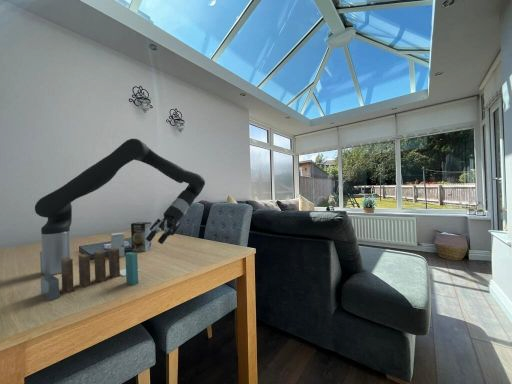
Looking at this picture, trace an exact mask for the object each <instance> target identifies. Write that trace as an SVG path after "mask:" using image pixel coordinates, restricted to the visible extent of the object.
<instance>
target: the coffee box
mask: <svg viewBox="0 0 512 384" xmlns="http://www.w3.org/2000/svg"><path fill="white" fill-rule="evenodd" d="M151 226H152V222H149V221H146V222H145V221H138V222H132V223H130V235H131V236H130V237H131V239H130V241H131V252H148V251H150V250H152V249H153V239H152V240H151V241H150V242H149V241H147V240H146V238H147V236H148V235H149V234H150V232H151V230H149V229H150V228H151ZM132 247H133V248H132Z"/></svg>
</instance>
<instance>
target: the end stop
mask: <svg viewBox="0 0 512 384" xmlns="http://www.w3.org/2000/svg"><path fill="white" fill-rule="evenodd" d="M40 294H41V296H43V297H44V298H45V299H46V300H48V301H53V300H57V299H59V298H60V279H59V278H58V277H56V276H54V274H53V275H51V274H49V275H42V276H40Z"/></svg>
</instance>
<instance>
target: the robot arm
mask: <svg viewBox="0 0 512 384" xmlns="http://www.w3.org/2000/svg"><path fill="white" fill-rule="evenodd" d="M132 161H138V162H140V163H143V164H146V165H148V166H150V167H153V168H154V169H155V170H157V171H159V172H160V173H161V174H163V175H164V176H166V177H167V178H169V179H171V180H173V181H174V182H176V183H179V184H183V183H185V184H187V186H186V187H185V189H184V190H182V191H181V192H180V193H179V195H178V196H177V197H176V198H175V199H174V200H173V201H172V202H171V204H169V206H168V207H167V209H166V210H165V212H163V218H162V219H160V218H157V220H156V221H155V222H153V224H151V228H150V229H149V230H151V232H150V234H149V235H148V236H147V238H146V240H147V241H149V242H150V241H151V240H152V241H153V239H154V238H155V236H156V235H157V234H158V233H161V232H163V231H164V232H163V233H162V234H161V236H160V237H159V238H158V239H157V242H158V244H161V245H163V244H164V242H165V241H166V240H167V239H168V238H169V237H170V236H174V235H175V233H176V231H178V229H179V227H180V226H181V223H180V222H181V220H182V219H183V218H184V216H185V214H187V212H188V211H189V209H190V207H191V206H192V204H193V203H194V201H195V200H196V198H198V197H199V195H200V194H201V193H202V191H203V189H204V187H205V185H206V181H205V178H204V177H203V176H202V175H200V174H198V173H196V172H194V171H193V172H192V171H189V170H186V169H184V168H183V167H181V166H179V165H178V164H176V163H174V162H172V161H170V160H168V159H166V158H164V157H162V156H160V155H159V154H158V153H156V152H155V151H153V150H152V149H150V148H149V146H148V145H147V144H146V143H144V142H143V141H141V140H140V139H138V138H130V139H127V140H125V141H124V142H122V144H121V145H119V146H118V147H117V148H116V149H115V150H113V151H112V152H111V153H110V154H108V155H107V156H104V157H103V158H102V159H101V160H100V159H99V161H97V162H96V163H95V164H92V165H91V166H90V167H88V168H86V169H85V170H83V171H82V172H81V173H79V174H78V175H76V176H75V177H73V178H72V179H71V180H69V181H68V182H67V183H66V184H63V186H61V187H59V188H57V189H56V190H54V191H52V192H50V193H48V194H46V195H45V196H43V197H41V198H39V199H38V201H37V202H36V203H35V206H34V212H35V214H36V215H38V216H39V217H41V218H47V221H46V223H45V224H44V225H43V226H41V229H40V230H41V231H40V232H41V234H40V235H41V251H39V261H40V262H39V263H40V274H41V275H42V276H45V275H49V274H51V275H53V276H54V275H58V274H62V271H61V259H62V258H67V257H68V258H70V259H72V258H71V256H72V255H71V231H70V230H71V229H70V227H71V225H72V219H73V218H72V217H73V215H72V213H73V211H72V210H73V207H72V202H74V201H76V200H77V199H79V198H81V197H84V196H87V195H88V194H91V193H93V192H95V191H97V190H99V189H101V188H102V187H103V186H104V185H107V183H108V182H110V181H112V179H113V178H114V176H116V174H117V173H118V171H120V170H121V169H122V168H123V167H124V166H126V165H127V164H129V163H130V162H132Z"/></svg>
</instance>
